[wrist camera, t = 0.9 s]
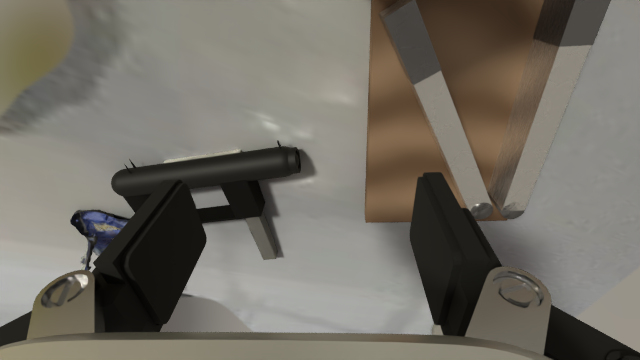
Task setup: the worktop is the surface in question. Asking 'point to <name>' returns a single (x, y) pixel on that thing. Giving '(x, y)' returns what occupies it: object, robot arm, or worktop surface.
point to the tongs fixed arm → (543, 97)
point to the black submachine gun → (218, 169)
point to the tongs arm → (435, 101)
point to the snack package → (96, 231)
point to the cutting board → (465, 90)
